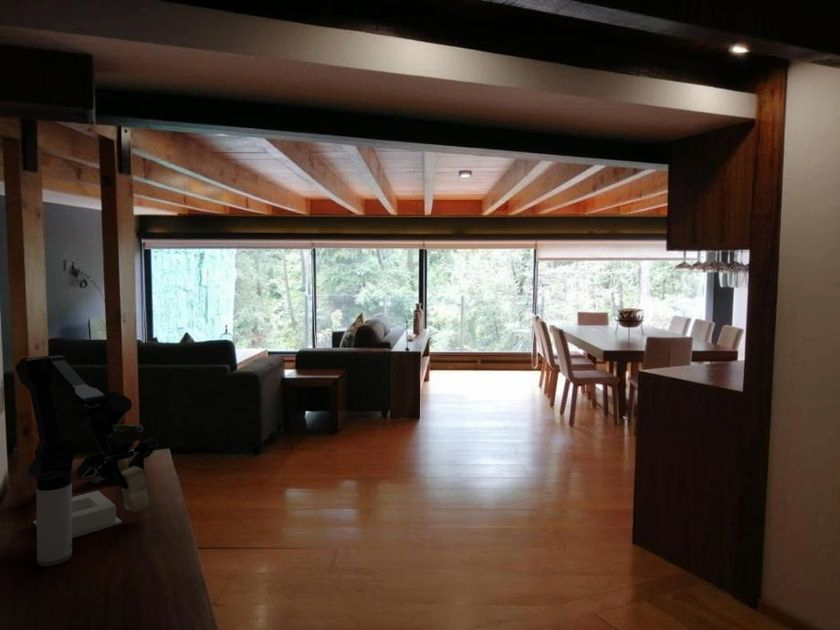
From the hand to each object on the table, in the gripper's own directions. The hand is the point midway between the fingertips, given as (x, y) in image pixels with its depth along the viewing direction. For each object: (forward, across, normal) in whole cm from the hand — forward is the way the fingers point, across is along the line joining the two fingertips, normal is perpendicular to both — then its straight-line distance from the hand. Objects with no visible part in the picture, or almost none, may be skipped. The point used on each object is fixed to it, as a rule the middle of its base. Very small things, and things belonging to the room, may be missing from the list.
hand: (135, 484), depth 128 cm
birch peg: (+4, +1, +5) cm, 7 cm away
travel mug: (+7, -19, +7) cm, 21 cm away
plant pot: (-23, +24, +38) cm, 50 cm away
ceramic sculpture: (-15, +15, +30) cm, 36 cm away
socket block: (-1, -7, +15) cm, 17 cm away
